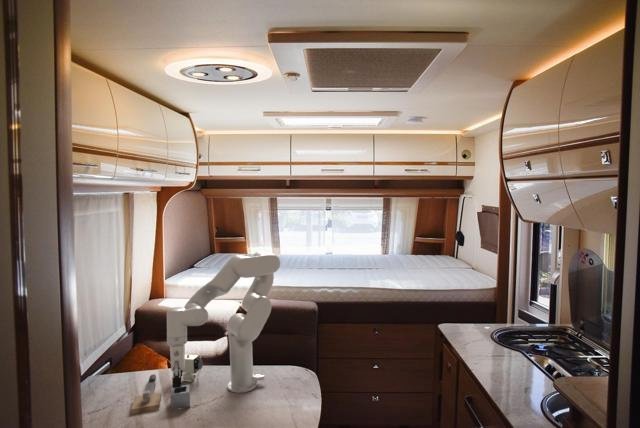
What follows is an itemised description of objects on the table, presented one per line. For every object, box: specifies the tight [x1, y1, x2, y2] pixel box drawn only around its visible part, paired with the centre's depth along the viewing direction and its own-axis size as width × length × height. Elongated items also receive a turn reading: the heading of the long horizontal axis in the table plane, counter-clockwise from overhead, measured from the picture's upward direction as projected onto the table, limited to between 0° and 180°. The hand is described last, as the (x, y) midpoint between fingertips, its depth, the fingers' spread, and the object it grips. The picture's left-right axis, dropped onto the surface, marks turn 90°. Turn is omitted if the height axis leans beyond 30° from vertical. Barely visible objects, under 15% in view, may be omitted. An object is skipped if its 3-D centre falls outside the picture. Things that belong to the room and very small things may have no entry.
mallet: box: [130, 374, 163, 415], centre depth 171 cm, size 10×27×6 cm, turn 17°
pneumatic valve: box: [182, 353, 204, 383], centre depth 183 cm, size 6×12×12 cm, turn 78°
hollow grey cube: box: [169, 384, 191, 411], centre depth 162 cm, size 7×7×6 cm
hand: (177, 381), depth 162 cm, fingers open, 9 cm apart
